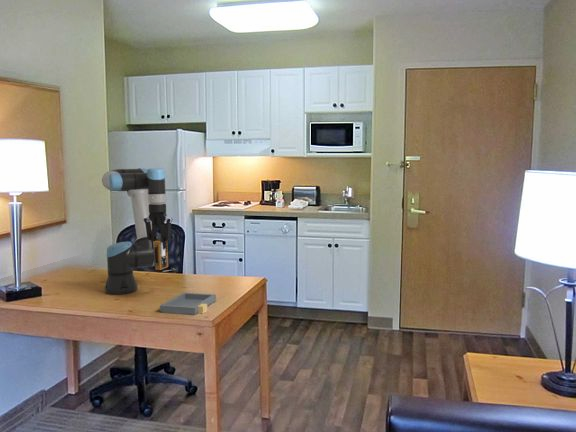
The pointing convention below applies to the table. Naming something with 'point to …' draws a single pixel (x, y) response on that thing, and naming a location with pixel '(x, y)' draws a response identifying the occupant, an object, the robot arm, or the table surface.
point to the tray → (188, 303)
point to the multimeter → (158, 260)
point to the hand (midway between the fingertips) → (159, 255)
